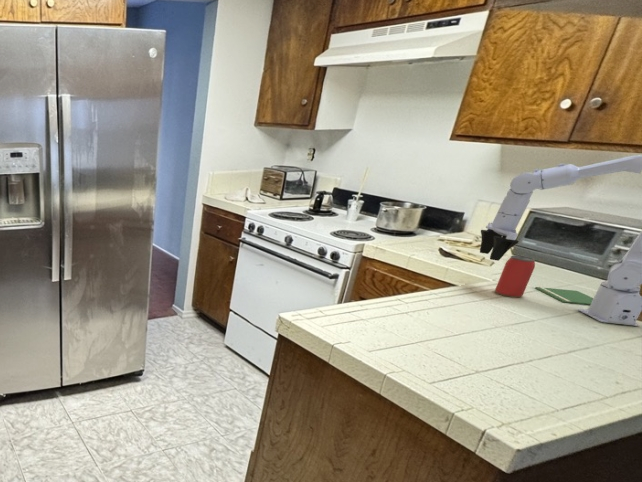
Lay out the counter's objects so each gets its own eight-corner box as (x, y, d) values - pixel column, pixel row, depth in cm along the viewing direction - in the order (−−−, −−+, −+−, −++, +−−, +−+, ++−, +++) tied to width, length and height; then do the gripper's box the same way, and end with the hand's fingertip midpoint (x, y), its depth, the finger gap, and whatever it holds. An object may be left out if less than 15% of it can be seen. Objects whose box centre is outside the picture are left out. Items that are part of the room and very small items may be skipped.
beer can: (510, 291, 151) (525, 255, 146) (527, 298, 145) (543, 261, 140) (489, 290, 151) (503, 254, 147) (504, 297, 145) (520, 260, 141)
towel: (608, 307, 139) (609, 305, 139) (563, 302, 142) (564, 300, 142) (576, 292, 152) (577, 290, 151) (535, 288, 154) (535, 286, 154)
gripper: (483, 207, 148) (464, 248, 154) (504, 216, 136) (483, 260, 142) (511, 210, 146) (490, 251, 152) (534, 220, 134) (511, 264, 140)
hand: (488, 256), depth 147 cm, fingers open, 7 cm apart
